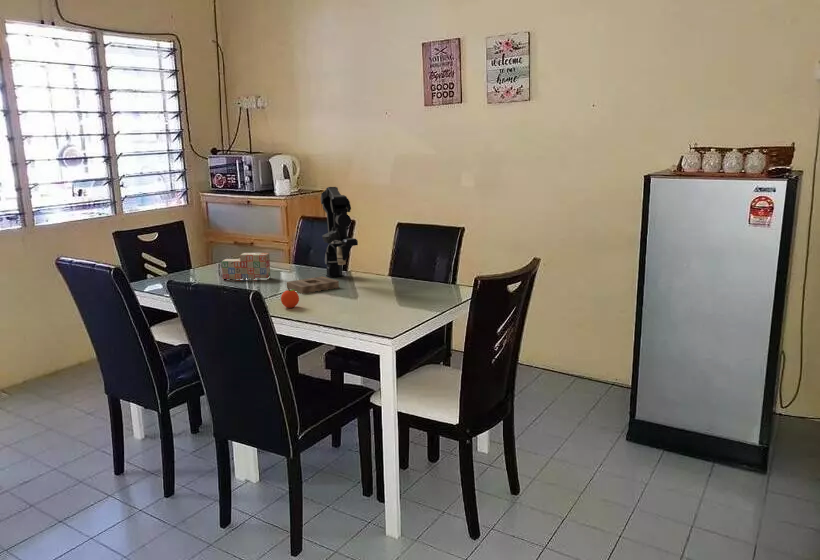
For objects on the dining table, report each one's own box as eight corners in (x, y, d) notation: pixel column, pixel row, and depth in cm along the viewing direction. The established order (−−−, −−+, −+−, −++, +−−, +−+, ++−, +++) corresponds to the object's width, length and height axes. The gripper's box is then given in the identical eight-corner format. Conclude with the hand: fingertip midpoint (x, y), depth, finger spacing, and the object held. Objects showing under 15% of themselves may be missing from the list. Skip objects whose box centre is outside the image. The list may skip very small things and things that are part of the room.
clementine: (293, 303, 258) (292, 286, 257) (305, 306, 254) (304, 288, 252) (277, 307, 252) (276, 290, 251) (289, 310, 248) (288, 292, 246)
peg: (343, 263, 293) (342, 245, 291) (348, 264, 290) (347, 246, 288) (335, 264, 290) (334, 246, 289) (340, 265, 287) (339, 247, 286)
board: (322, 282, 296) (322, 276, 295) (338, 287, 285) (338, 281, 285) (286, 288, 285) (286, 281, 285) (302, 294, 274) (302, 287, 274)
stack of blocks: (222, 280, 305) (220, 254, 302) (227, 277, 311) (225, 252, 308) (267, 280, 303) (265, 254, 301) (270, 278, 309) (269, 252, 307)
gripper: (313, 224, 289) (315, 259, 292) (335, 228, 274) (337, 264, 278) (335, 222, 295) (336, 256, 299) (357, 226, 281) (359, 261, 284)
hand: (341, 259), depth 290 cm, fingers closed on peg, 4 cm apart
